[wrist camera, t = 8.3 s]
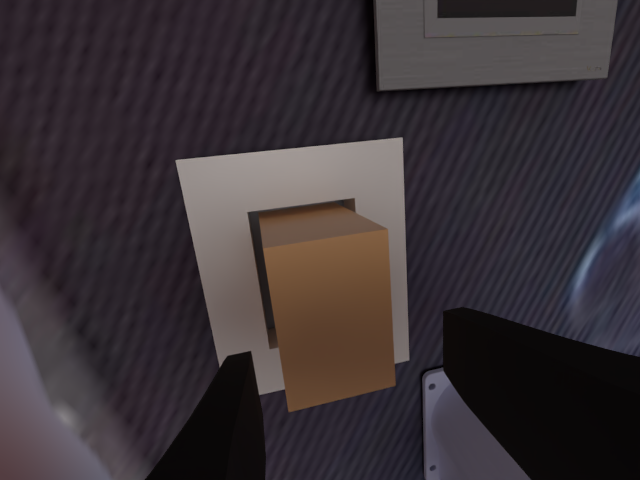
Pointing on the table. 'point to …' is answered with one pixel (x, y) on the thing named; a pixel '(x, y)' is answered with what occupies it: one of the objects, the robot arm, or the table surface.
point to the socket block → (246, 243)
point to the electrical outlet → (490, 42)
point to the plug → (329, 302)
